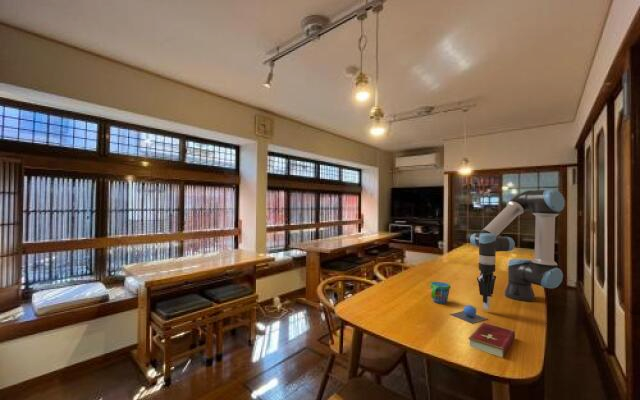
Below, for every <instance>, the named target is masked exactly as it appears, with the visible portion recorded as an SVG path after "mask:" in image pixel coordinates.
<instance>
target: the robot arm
mask: <svg viewBox="0 0 640 400" xmlns="http://www.w3.org/2000/svg"><path fill="white" fill-rule="evenodd" d="M565 203H566V201H565V198H564V195H563V194H562V193H561V192H560V191H558V190H555V189H540V190H539V189H538V190H530V189H529V190H525V191H522V192H520V193H518V194H517V195H515V196H514V197H512V198H511V199H510V200H508V202H506V206H505V207H504V208H503V209H502V211H501V210H500V211H501V212H499V213H498V214H497V215H496V216H495V217H494V218H493V219H492V220H491V221H490V222H489V223H488V224H487V225H486V226H485V227H484V228H483V229H482V230H481V231H480V232H475V233H472V234H471V236H470V237H469V238H470V239H469V241H470V244H471V245H472V246H475V247H477V248H478V262H479V263H478V271H480V276H479V277H476V280H477V282H478V291H479V295H480V296H482V309H485V310H487V311H488V310H489V311H490V310H491V306H490V305H491V304H490V303H491V297H493V295H494V291H495V284H496V279H497V276H496V275H494V273H495V272H496V262H497V261H496V256H497V255H496V252H510V251H513V250H514V248H515V246H516V243H515V241H514V239H513V238H512V237H509V236H499V235H500V234H501V233H502V232H503V230H505V229H506V227H508V226H509V225H510V224H511V223H512V222H513V221H514V220H515V219H516V218H517V216H519V215H522V214H524V213H525V212H526V211H531V214H532V215H533V216H535V228H534V229H535V230H534V233H535V234H534V258H533V259H529V258H527V259H526V258H512V259H509V261H508V265H507V269H508V270H507V273H508V275H507V276H508V277H507V279H508V280H507V285H506V288H505V290H504V296H505V297H507V298H509V299H512V300H515V299H516V300H517V301H520V302H521V301H522V302H533V301H532V300H535V301H536V295H535V293H534V289H533V286H532V285H536V286H538V287H542V288H546V289H550V290H551V289H556V288H558V287H559V286H560V285H561V283H562V282H563V278H564V273H563V271H562V270H561V269H560V268H558V263H557V262H556V261H555V233H556V231H555V229H556V217H557V216H559V215H560V213H559V212H561V211H563V210H564V207H565V206H566V205H565Z"/></svg>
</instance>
